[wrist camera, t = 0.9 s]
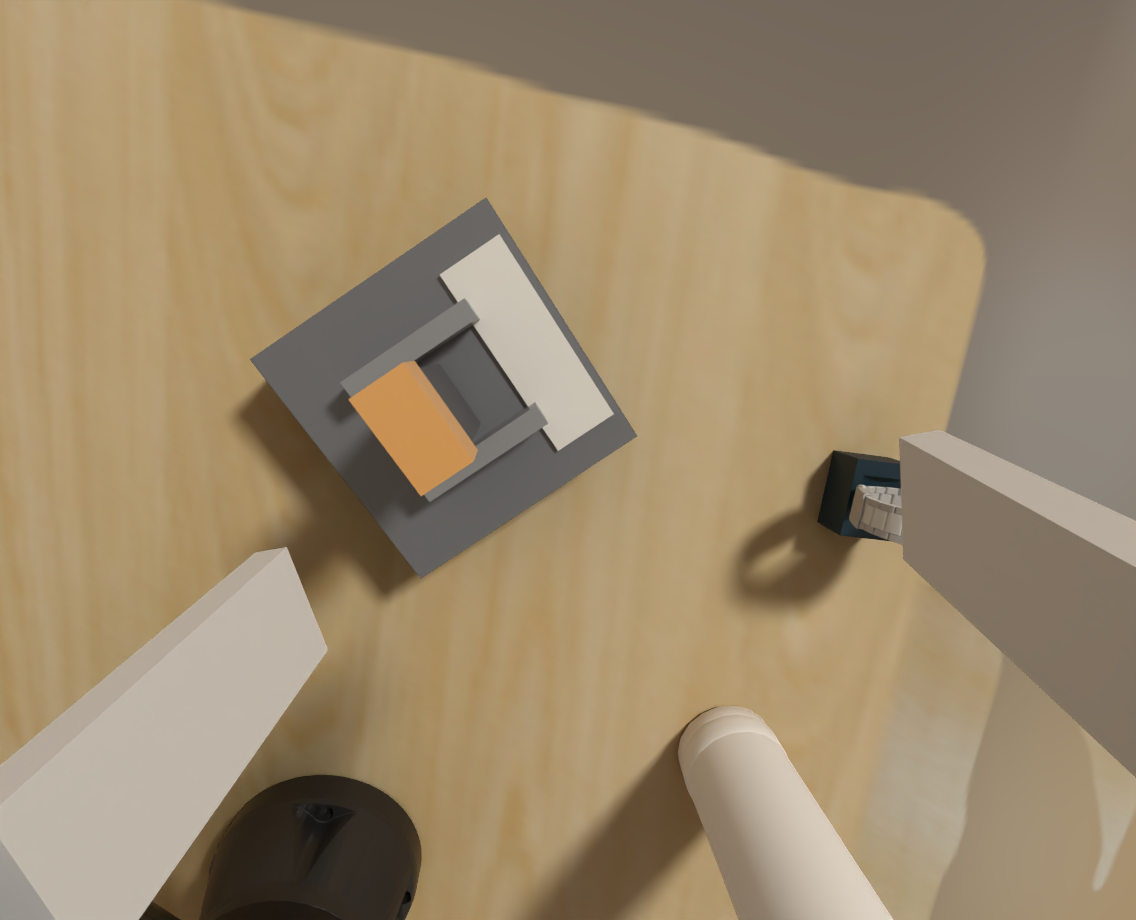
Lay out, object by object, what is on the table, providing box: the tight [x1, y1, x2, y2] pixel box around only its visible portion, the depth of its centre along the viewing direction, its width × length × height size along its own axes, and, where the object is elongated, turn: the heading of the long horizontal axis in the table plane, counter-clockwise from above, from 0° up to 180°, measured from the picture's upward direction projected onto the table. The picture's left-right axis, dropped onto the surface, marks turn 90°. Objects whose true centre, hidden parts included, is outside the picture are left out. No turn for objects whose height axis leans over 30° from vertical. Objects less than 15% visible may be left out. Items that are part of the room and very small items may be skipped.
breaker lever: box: [348, 361, 481, 496], centre depth 27 cm, size 2×4×11 cm, turn 33°
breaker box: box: [250, 198, 637, 578], centre depth 35 cm, size 16×16×8 cm
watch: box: [817, 450, 903, 545], centre depth 37 cm, size 6×8×11 cm
